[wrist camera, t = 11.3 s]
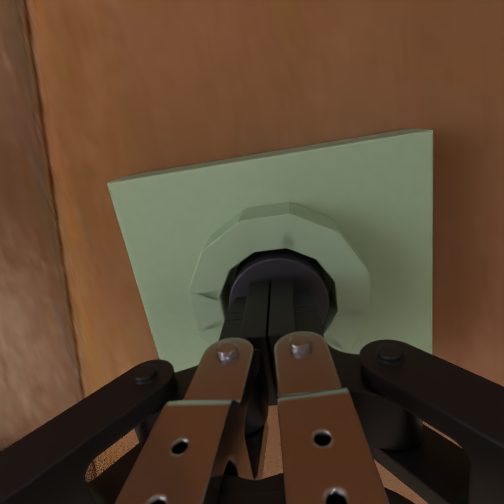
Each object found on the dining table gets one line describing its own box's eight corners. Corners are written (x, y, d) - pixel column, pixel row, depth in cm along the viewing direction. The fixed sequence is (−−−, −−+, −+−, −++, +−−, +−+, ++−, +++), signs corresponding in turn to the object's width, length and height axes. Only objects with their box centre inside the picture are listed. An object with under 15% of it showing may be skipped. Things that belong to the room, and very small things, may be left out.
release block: (412, 127, 14) (458, 130, 10) (415, 341, 17) (451, 401, 14) (129, 174, 16) (81, 191, 12) (180, 362, 19) (155, 421, 15)
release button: (319, 236, 14) (324, 252, 12) (328, 318, 15) (333, 343, 13) (227, 248, 14) (220, 265, 12) (242, 327, 15) (238, 352, 14)
